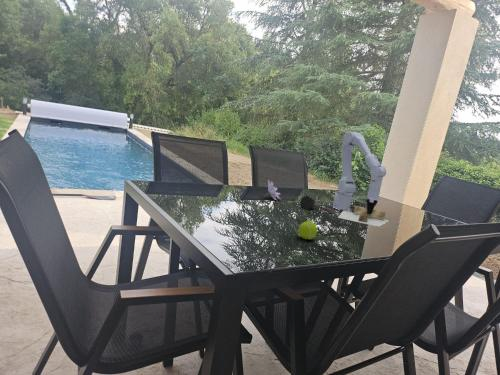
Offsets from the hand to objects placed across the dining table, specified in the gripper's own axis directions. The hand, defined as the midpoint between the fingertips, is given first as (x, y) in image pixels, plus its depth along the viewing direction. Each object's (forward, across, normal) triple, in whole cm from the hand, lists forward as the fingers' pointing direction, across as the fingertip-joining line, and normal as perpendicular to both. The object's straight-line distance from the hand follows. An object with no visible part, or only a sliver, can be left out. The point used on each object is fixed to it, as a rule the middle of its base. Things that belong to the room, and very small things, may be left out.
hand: (369, 213), depth 205 cm
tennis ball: (+3, -68, +19) cm, 71 cm away
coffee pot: (+3, -10, +26) cm, 28 cm away
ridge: (+2, -12, +2) cm, 12 cm away
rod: (+1, 0, 0) cm, 1 cm away
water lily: (+3, -6, +53) cm, 53 cm away
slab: (+2, -8, +2) cm, 9 cm away
